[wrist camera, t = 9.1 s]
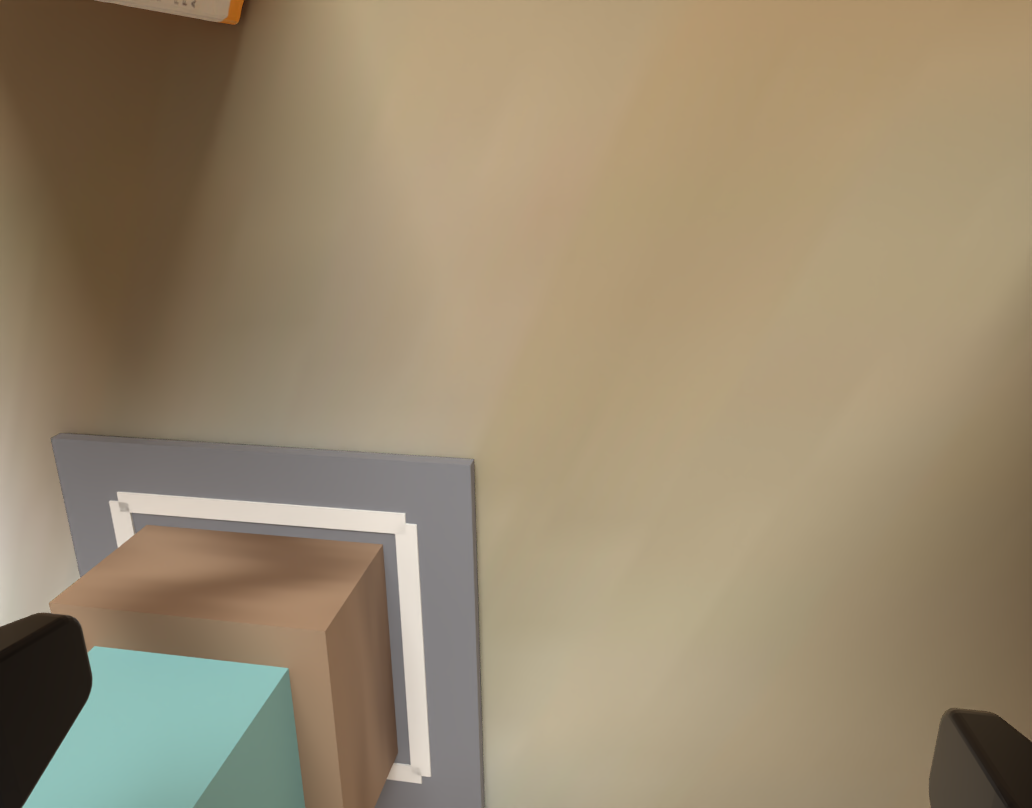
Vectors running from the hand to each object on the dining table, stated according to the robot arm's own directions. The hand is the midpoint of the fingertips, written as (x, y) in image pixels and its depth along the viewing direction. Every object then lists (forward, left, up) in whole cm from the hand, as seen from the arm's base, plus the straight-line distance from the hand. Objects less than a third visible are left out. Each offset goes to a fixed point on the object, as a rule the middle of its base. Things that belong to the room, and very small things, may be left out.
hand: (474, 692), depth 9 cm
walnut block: (+9, +9, -12) cm, 18 cm away
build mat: (+9, +9, -12) cm, 18 cm away
